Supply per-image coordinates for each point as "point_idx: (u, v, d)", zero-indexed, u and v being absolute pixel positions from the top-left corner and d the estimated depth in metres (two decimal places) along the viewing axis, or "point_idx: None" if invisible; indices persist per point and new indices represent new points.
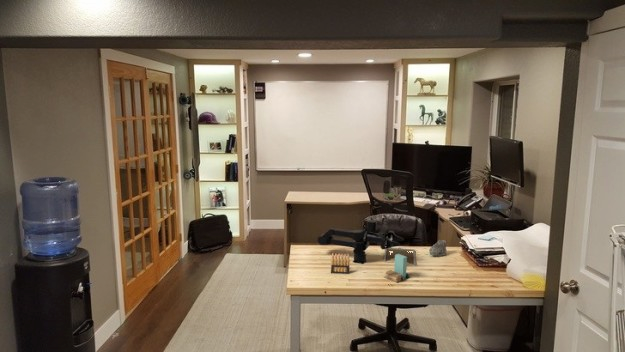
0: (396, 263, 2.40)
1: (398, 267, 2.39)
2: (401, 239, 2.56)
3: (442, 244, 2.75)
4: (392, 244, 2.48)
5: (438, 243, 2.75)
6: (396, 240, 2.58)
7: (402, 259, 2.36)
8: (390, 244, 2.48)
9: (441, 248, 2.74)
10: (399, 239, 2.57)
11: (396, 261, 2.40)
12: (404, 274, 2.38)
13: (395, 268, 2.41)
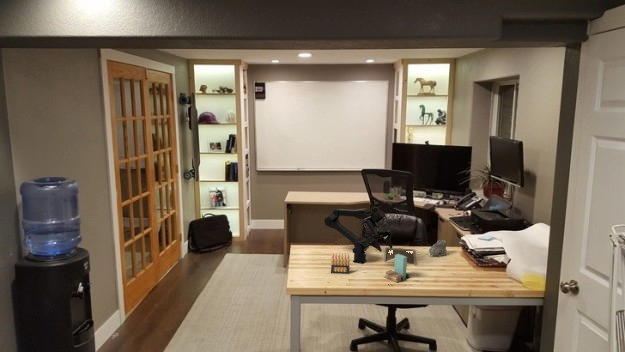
0: (396, 263, 2.40)
1: (398, 267, 2.39)
2: (390, 246, 2.52)
3: (442, 244, 2.75)
4: (376, 246, 2.47)
5: (438, 243, 2.75)
6: (387, 242, 2.55)
7: (402, 259, 2.36)
8: (374, 244, 2.48)
9: (441, 248, 2.74)
10: (389, 244, 2.53)
11: (396, 261, 2.40)
12: (404, 274, 2.38)
13: (395, 268, 2.41)
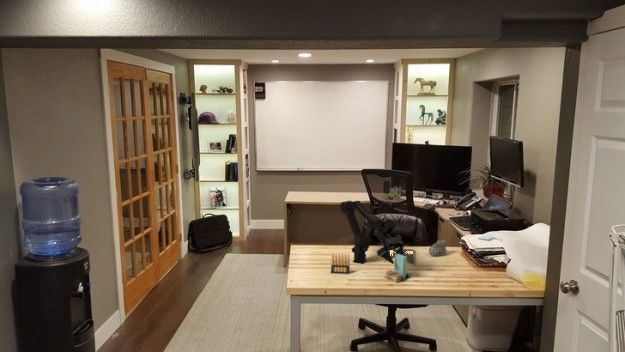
0: (396, 263, 2.40)
1: (398, 267, 2.39)
2: None
3: (442, 244, 2.76)
4: (388, 258, 2.39)
5: (438, 243, 2.75)
6: None
7: (402, 259, 2.36)
8: (386, 256, 2.39)
9: (441, 248, 2.75)
10: None
11: (396, 261, 2.40)
12: (404, 274, 2.38)
13: (395, 268, 2.41)
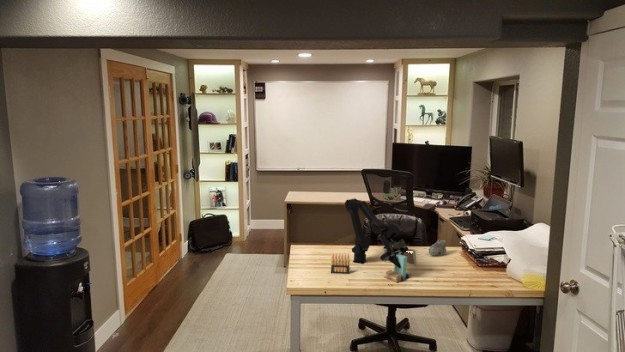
0: None
1: (398, 267, 2.39)
2: None
3: (441, 244, 2.76)
4: (394, 262, 2.39)
5: (437, 243, 2.76)
6: None
7: (402, 259, 2.36)
8: (393, 260, 2.39)
9: (440, 248, 2.75)
10: None
11: None
12: (404, 274, 2.38)
13: (395, 268, 2.41)
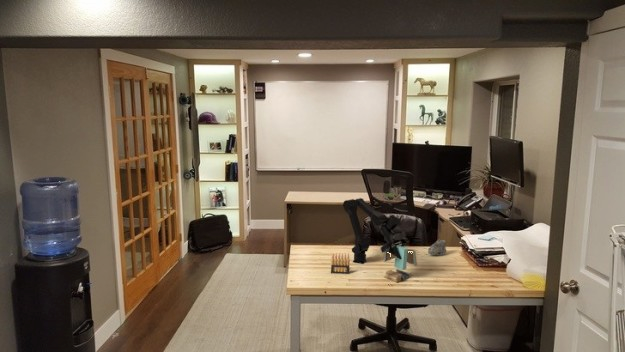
0: None
1: (398, 259, 2.38)
2: None
3: (441, 244, 2.76)
4: (395, 253, 2.38)
5: (437, 243, 2.76)
6: None
7: (403, 250, 2.35)
8: (394, 252, 2.38)
9: (440, 248, 2.75)
10: None
11: None
12: (404, 266, 2.37)
13: (395, 260, 2.40)
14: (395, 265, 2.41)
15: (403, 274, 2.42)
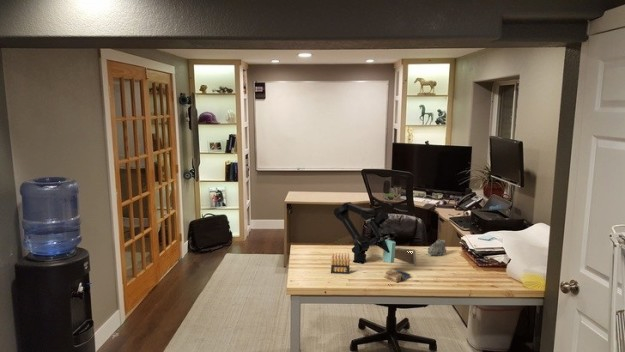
0: None
1: (386, 252, 2.45)
2: None
3: (441, 244, 2.76)
4: (383, 247, 2.44)
5: (437, 242, 2.76)
6: None
7: (391, 244, 2.42)
8: (382, 245, 2.45)
9: (440, 247, 2.75)
10: None
11: None
12: (392, 259, 2.44)
13: (384, 253, 2.46)
14: (383, 258, 2.47)
15: (403, 274, 2.42)
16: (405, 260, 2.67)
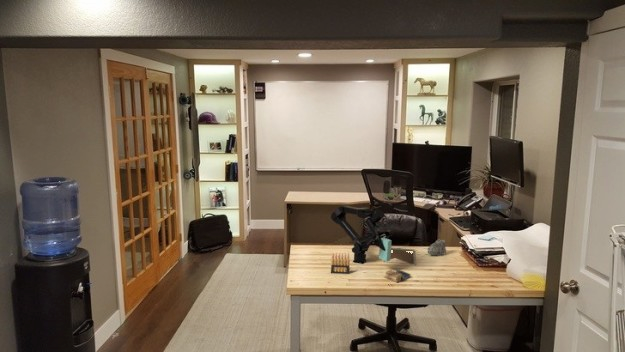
0: None
1: (382, 250, 2.47)
2: None
3: (441, 243, 2.76)
4: (379, 245, 2.46)
5: (437, 242, 2.76)
6: None
7: (386, 242, 2.44)
8: (378, 243, 2.47)
9: (440, 247, 2.76)
10: None
11: None
12: (388, 257, 2.46)
13: (380, 251, 2.49)
14: (379, 256, 2.49)
15: (403, 274, 2.42)
16: (405, 260, 2.67)
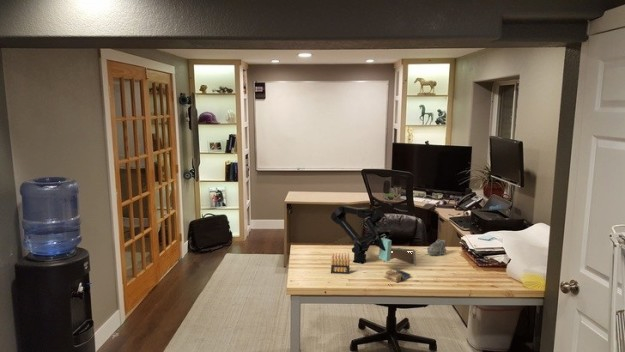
0: None
1: (382, 250, 2.47)
2: None
3: (441, 243, 2.77)
4: (379, 245, 2.46)
5: (437, 242, 2.77)
6: None
7: (386, 242, 2.44)
8: (378, 243, 2.47)
9: (439, 247, 2.76)
10: None
11: None
12: (388, 257, 2.46)
13: (380, 251, 2.49)
14: (379, 256, 2.49)
15: (403, 274, 2.42)
16: (405, 260, 2.67)
